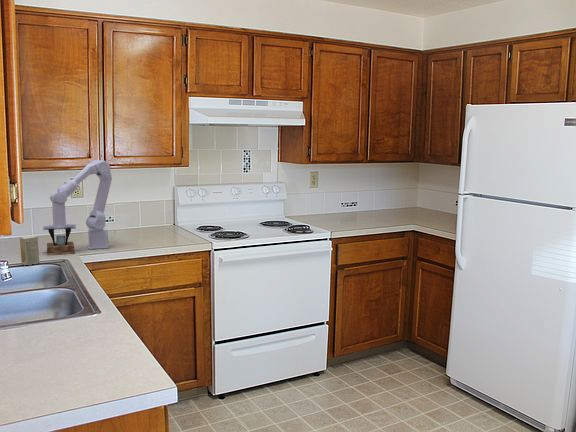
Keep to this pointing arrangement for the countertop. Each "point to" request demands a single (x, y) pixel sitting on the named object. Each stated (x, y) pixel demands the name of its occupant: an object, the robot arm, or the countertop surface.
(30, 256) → the skincare box
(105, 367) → the countertop surface
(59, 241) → the peg
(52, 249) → the walnut holder
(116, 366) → the countertop surface
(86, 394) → the countertop surface
